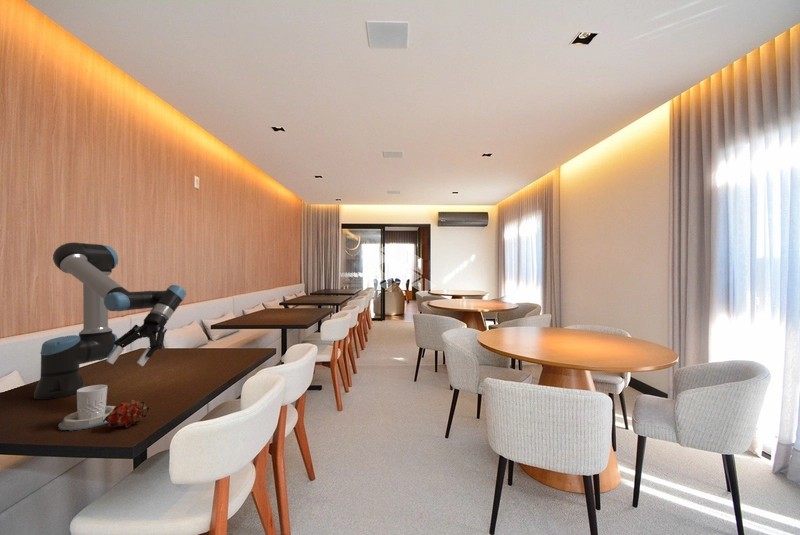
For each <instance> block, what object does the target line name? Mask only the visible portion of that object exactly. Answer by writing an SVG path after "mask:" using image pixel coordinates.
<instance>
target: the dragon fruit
mask: <svg viewBox="0 0 800 535" xmlns="http://www.w3.org/2000/svg"><path fill="white" fill-rule="evenodd" d="M130 401H131V402H130ZM130 401H129V402H125V401H124V402H121V403H119V404H120V405H118V406H116V407H115V408H114V409H113V411H112V412H111V413H110V414H109V415H108V416H107V417H106V418H105V419H104V420H103V423H104V421H105V420H106V421H107V422H110V423H108V424H107V427H111V428H122V427H124V426H125V428H129V427H131V426H132V425H137V424H138V423H139V420H143V419H145V418H146V417H147V415H148V412H149V410H150V407H149V406H148V404H147V403H145V402H144V401H140V400H139V401H138V400H134V399H131V400H130Z"/></svg>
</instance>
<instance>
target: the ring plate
mask: <svg viewBox="0 0 800 535" xmlns="http://www.w3.org/2000/svg"><path fill="white" fill-rule="evenodd" d="M115 407H117V406H116V405H106V407H105V415H102V416H99V417H95V418H90V419H83V420H78V410H77V411H75V412H72V413H70V414H68V415H66V416H64V417H63V420H61V421H60V422H59V423H58V427H59V428H58V430H59V429H61V430H60V431H62V430H69V431H68V432H74V431H73V430H78V431H83V430H82V429H85V430H89V429H88V428H90V429H93V428H94V427H95V428H98V426H99V427H102V426H104V425H108V424H109V423H110V422H107V421H106V420H105V421H104V423H103V420H104V419H105V418H106V417H107V416H108V415H109V414H110V413H111V412H112V411H113V409H114V408H115Z"/></svg>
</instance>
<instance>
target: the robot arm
mask: <svg viewBox="0 0 800 535" xmlns="http://www.w3.org/2000/svg"><path fill="white" fill-rule="evenodd" d="M52 261H53V263H54V265H55V266H56V267H57V268H58V269H59V271H61V272H63V273H65V274H70V275H71V276H73V277H74V278H75V279H76V280H78V281H79V282H81V283H83V284H82V287H83V288H82V291H83V292H82V300H83V301H82V302H83V304H82V305H83V306H82V309H83V310H82V313H83V315H82V316H83V317H82V318H83V321H82V322H83V323H82V324H83V326H82V327H83V328H82V330H81V331H79V333H78V335H74V334H73V335H66V336H58V337H55V338H54V337H53V338H51V339H48V340H46V341H44V342H43V343H42V345H41V349H40V378H39V380H38V383H37V385H36V386H35V390H34V392H33V399H36V400H51V398H52V399H57V398H63V397H67V396H72V395H77V390H78V389H80V388H83V387H85V383H84V381H83V378H82V376H81V373H80V365H83V364H88V363H92V362H95V361H102V360H105V359H106V360H105V361H106V363H109V364H110V365H114V363H116V361H117V359H118V358H119V356H120V355H121V354H122V353H123V351H124V350H125V347H127V346H129V345H131V344H132V343H134V342H135V341H137V340H139V339H143V338H148V340H149V346H148V347H146V349H145V350H144V351H143V353H142V354H141V355H140V357H139V359H138V360H137V361H136V364H138V365H139V366H140V367H144V366H145V364H146V363H147V361H148V360H149V358H151V357H153V354H154V352H156V351H157V350H162V349H163V346H164V340H165V335H166V332H167V331H168V329H167V328H166V327H165V326H166V325H167V323H168V321H169V320H170V319H171V317H172V315H173V314H174V313H175V311H177V308H179V306H180V305H181V304H182V302H183V301H184V298H185V297H186V295H187V292H186V290H185V288H183V287H182V286H180V285H177V284H171V285H169V286H168V287H167V288H166V290H143V291H129V290H127V289H126V288H124V287H123V286H122V285H121V284H119V283H118V282H117V281H116V280H113V278H111V277H110V275H111V274H112V273H113V269H115V268H116V267H117V265H118V263H119V255H118V253H117V251H116V250H115V249H114V248H113V247H111V246H109V245H106V244H105V245H104V244H99V243H98V244H97V243H96V244H95V243H82V242H68V243H67V242H66V243H63V244H61V245H60V246H58V247H57V248H56V249H55V251H53V254H52ZM145 309H151V310H150V311H149V313H148V314H147V315H146V317H145V318H144V319H143V324H141V326H140V325H138V324H134V325H133V327H131V329H129V330H128V331H127V332H126V333H125V334H123V335H121V336H120V337H118V335H117V334H116V333H114V332H113V329H112V328H110V327H109V311H110V312H124V311H125V312H126V311H132V310H145Z"/></svg>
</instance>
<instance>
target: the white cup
mask: <svg viewBox="0 0 800 535" xmlns="http://www.w3.org/2000/svg"><path fill="white" fill-rule="evenodd" d="M107 396H108V385H107V384H94V385H89V386H84V387H83V388H80V389H78V390H77V393H76V409H77V411H78V420H83V419H90V418H95V417H99V416H102V415H105V407H106V406H107V400H108V397H107Z"/></svg>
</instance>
